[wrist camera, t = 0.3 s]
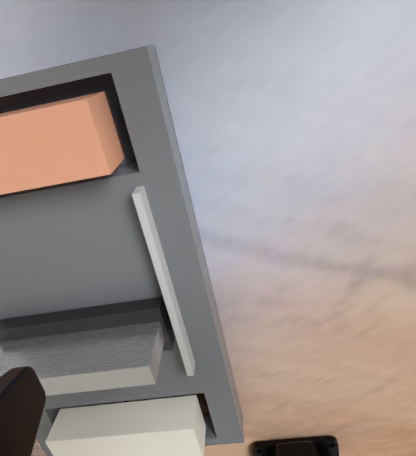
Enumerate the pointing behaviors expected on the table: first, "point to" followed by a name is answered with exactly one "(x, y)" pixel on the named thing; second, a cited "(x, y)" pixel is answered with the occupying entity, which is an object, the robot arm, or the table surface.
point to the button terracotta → (58, 143)
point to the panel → (121, 247)
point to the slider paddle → (89, 345)
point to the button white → (130, 429)
